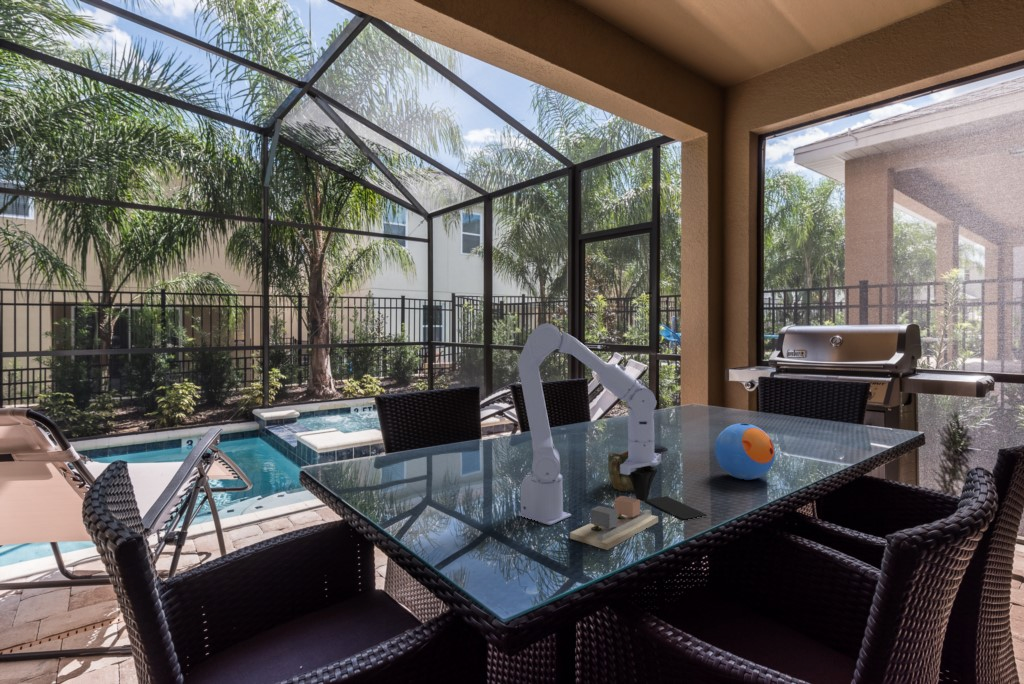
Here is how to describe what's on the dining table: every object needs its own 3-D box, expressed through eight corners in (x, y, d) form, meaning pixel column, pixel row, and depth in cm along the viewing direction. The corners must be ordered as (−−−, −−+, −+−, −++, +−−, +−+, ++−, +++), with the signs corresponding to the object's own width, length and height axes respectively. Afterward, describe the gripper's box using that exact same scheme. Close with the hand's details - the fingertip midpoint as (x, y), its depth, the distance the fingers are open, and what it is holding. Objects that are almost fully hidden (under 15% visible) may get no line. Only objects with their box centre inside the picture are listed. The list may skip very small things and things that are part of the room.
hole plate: (570, 538, 110) (570, 532, 110) (622, 513, 125) (622, 507, 125) (607, 550, 104) (607, 543, 104) (658, 522, 119) (658, 516, 119)
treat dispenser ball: (747, 469, 161) (746, 418, 161) (788, 482, 146) (787, 426, 146) (703, 474, 156) (703, 421, 156) (741, 489, 142) (740, 430, 141)
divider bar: (597, 539, 106) (597, 533, 106) (646, 514, 120) (646, 509, 120) (602, 541, 106) (602, 535, 106) (651, 515, 119) (651, 510, 119)
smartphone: (682, 519, 119) (643, 499, 133) (682, 523, 119) (643, 502, 133) (708, 514, 122) (666, 495, 136) (708, 518, 122) (666, 499, 136)
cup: (585, 484, 148) (585, 448, 148) (641, 475, 157) (641, 440, 157) (616, 497, 137) (616, 457, 136) (674, 486, 146) (674, 449, 146)
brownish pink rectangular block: (613, 517, 118) (613, 498, 118) (621, 514, 120) (620, 495, 120) (632, 522, 114) (632, 503, 114) (640, 519, 117) (639, 499, 116)
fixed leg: (590, 529, 111) (589, 509, 111) (598, 525, 113) (598, 505, 113) (609, 534, 108) (609, 514, 108) (617, 530, 110) (617, 510, 110)
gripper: (640, 447, 113) (641, 511, 113) (673, 436, 124) (673, 495, 124) (611, 443, 118) (612, 504, 118) (645, 433, 128) (646, 489, 129)
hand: (641, 499), depth 121 cm, fingers closed
